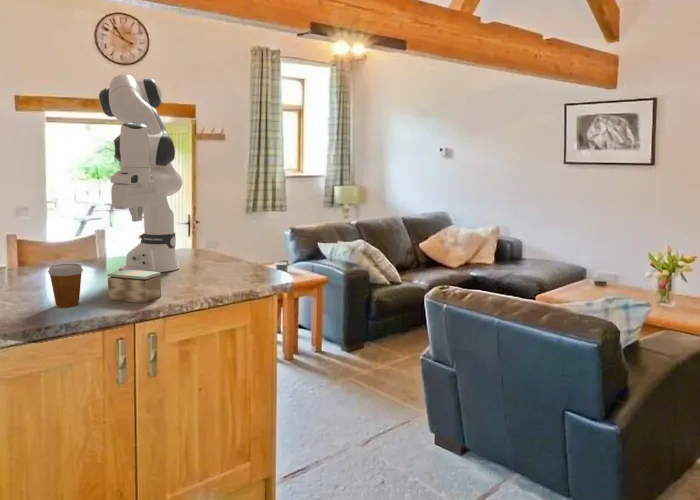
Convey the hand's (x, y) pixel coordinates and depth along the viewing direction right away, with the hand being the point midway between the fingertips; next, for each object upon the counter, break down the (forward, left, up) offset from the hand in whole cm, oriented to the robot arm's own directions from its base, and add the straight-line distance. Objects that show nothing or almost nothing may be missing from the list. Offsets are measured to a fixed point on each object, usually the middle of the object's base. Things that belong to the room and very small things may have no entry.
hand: (137, 221), depth 192 cm
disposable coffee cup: (-16, -14, -25) cm, 33 cm away
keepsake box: (-2, 0, -25) cm, 25 cm away
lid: (-2, 0, -17) cm, 18 cm away
